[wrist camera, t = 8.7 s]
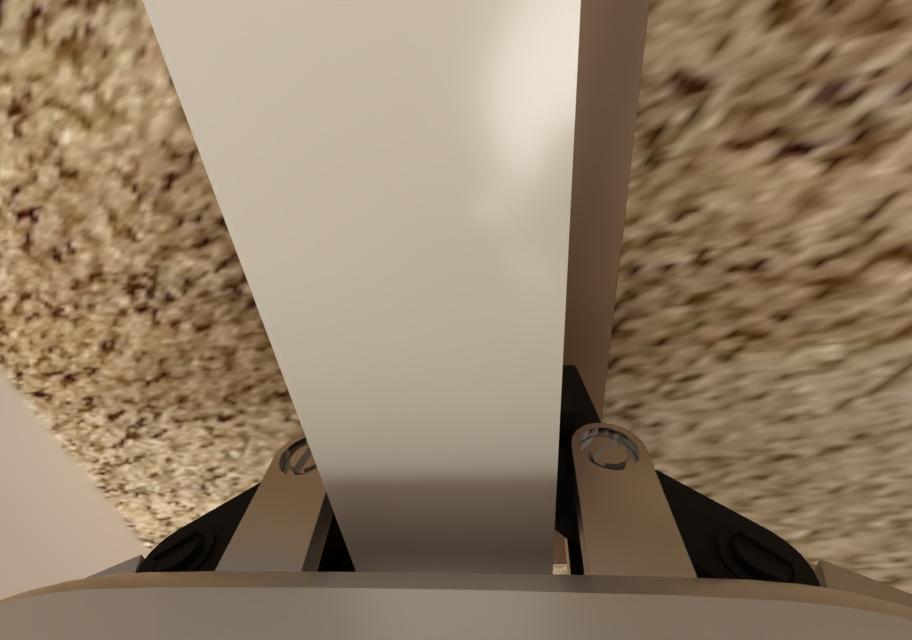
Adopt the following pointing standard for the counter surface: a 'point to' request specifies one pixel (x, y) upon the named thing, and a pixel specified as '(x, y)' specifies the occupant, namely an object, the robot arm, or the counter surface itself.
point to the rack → (600, 185)
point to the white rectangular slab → (402, 249)
